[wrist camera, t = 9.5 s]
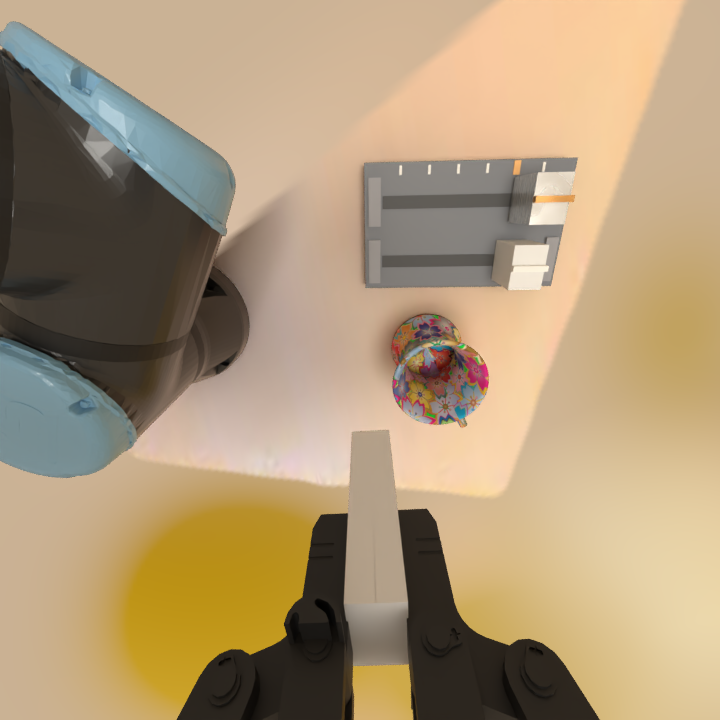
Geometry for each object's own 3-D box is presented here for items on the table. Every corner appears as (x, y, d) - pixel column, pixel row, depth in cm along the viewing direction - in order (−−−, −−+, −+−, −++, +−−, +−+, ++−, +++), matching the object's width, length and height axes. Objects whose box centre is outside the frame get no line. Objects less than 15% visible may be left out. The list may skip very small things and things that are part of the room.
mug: (374, 331, 43) (375, 369, 33) (443, 294, 40) (466, 323, 31) (417, 404, 47) (429, 456, 37) (482, 374, 45) (513, 421, 35)
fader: (507, 222, 34) (531, 225, 29) (514, 176, 33) (540, 171, 28) (539, 221, 34) (568, 224, 29) (547, 176, 33) (580, 170, 27)
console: (365, 283, 40) (364, 301, 33) (364, 165, 35) (362, 155, 28) (540, 281, 39) (580, 299, 32) (564, 160, 34) (617, 148, 27)
